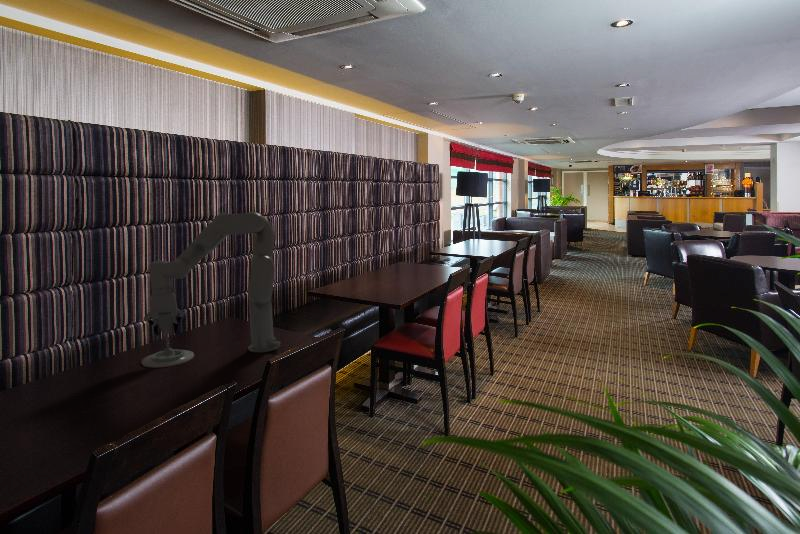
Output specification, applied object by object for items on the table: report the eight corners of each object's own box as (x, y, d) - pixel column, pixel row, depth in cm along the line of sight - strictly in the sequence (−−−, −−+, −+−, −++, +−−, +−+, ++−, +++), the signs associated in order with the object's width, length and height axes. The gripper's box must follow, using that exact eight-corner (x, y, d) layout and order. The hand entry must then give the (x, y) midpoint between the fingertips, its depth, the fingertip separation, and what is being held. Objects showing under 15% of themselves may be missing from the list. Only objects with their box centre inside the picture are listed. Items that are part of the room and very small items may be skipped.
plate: (204, 354, 217) (204, 348, 216) (168, 369, 198) (167, 364, 198) (168, 350, 224) (167, 345, 223) (130, 364, 205) (129, 359, 205)
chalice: (181, 351, 214) (177, 310, 211) (172, 357, 207) (168, 314, 204) (164, 351, 214) (160, 310, 212) (155, 357, 208) (151, 314, 205)
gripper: (184, 287, 214) (188, 328, 216) (139, 292, 207) (143, 334, 209) (185, 290, 207) (189, 333, 210) (138, 295, 200) (142, 339, 203)
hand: (166, 333), depth 209 cm, fingers closed on chalice, 6 cm apart
